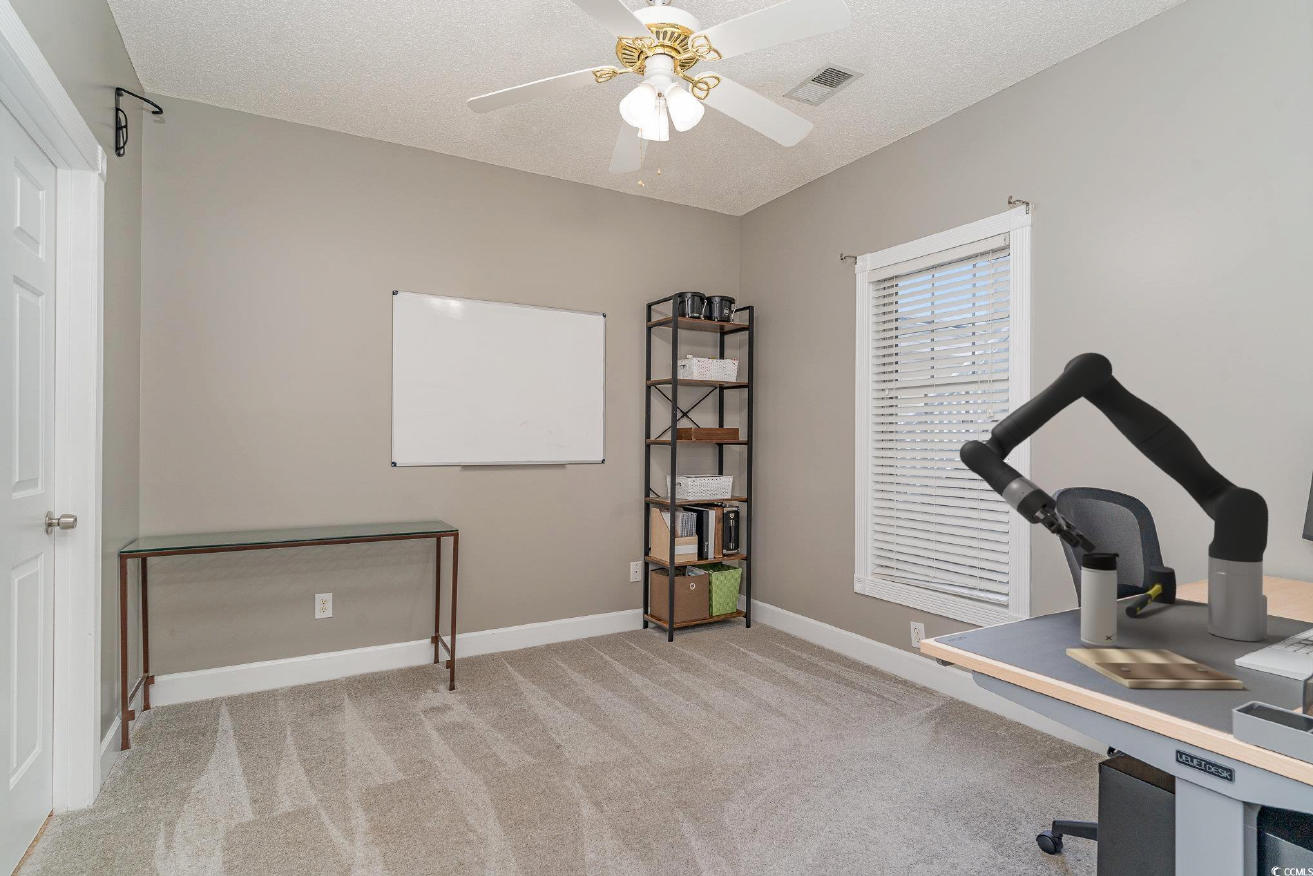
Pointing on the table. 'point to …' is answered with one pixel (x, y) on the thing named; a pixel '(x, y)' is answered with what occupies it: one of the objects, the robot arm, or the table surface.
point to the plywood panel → (1153, 669)
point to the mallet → (1156, 589)
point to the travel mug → (1099, 600)
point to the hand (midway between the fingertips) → (1086, 548)
